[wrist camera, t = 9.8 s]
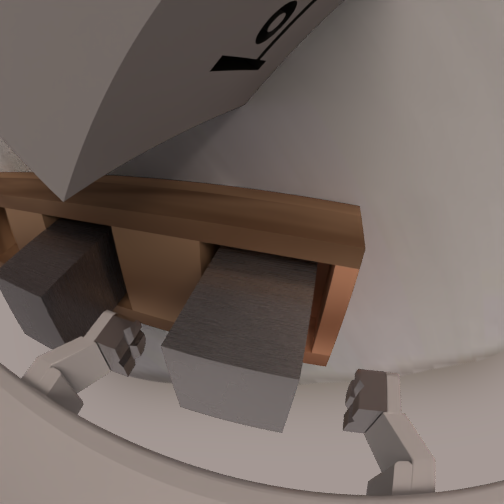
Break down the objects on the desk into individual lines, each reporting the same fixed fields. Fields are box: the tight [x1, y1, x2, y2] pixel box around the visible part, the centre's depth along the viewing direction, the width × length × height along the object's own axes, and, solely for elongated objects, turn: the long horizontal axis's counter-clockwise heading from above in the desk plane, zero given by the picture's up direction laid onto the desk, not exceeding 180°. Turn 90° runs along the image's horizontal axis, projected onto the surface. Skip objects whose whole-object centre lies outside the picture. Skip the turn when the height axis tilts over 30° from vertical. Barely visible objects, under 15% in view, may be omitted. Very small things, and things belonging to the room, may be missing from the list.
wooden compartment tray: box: [0, 172, 365, 366], centre depth 16 cm, size 7×26×4 cm, turn 88°
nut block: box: [161, 245, 318, 433], centre depth 12 cm, size 4×4×7 cm
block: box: [0, 217, 127, 349], centre depth 14 cm, size 4×4×7 cm
